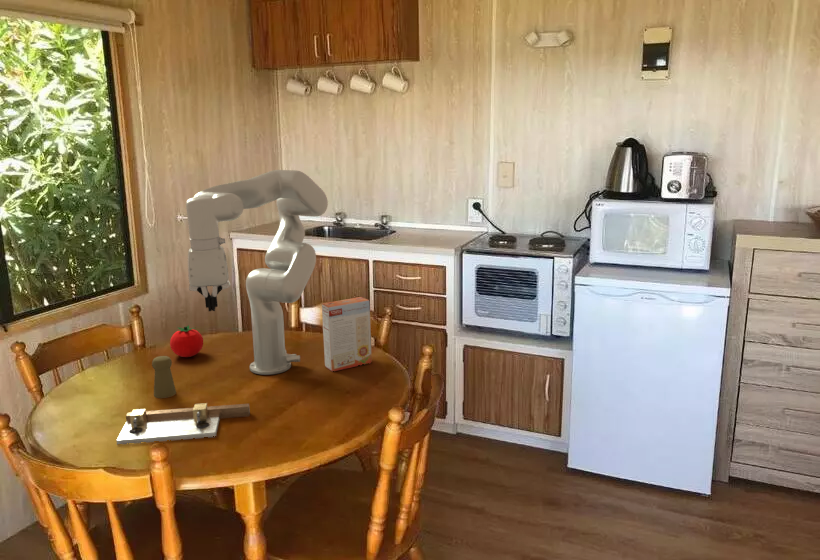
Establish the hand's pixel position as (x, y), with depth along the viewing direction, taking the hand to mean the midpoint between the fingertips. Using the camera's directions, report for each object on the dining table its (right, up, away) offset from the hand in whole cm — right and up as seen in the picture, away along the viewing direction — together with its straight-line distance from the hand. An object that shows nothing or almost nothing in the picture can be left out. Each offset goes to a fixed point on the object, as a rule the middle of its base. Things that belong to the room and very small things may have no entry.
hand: (212, 309), depth 186 cm
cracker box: (+34, -19, +29) cm, 49 cm away
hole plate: (-3, -29, -12) cm, 32 cm away
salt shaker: (-16, -25, +8) cm, 30 cm away
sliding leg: (0, -28, -12) cm, 30 cm away
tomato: (-19, -17, +38) cm, 46 cm away
